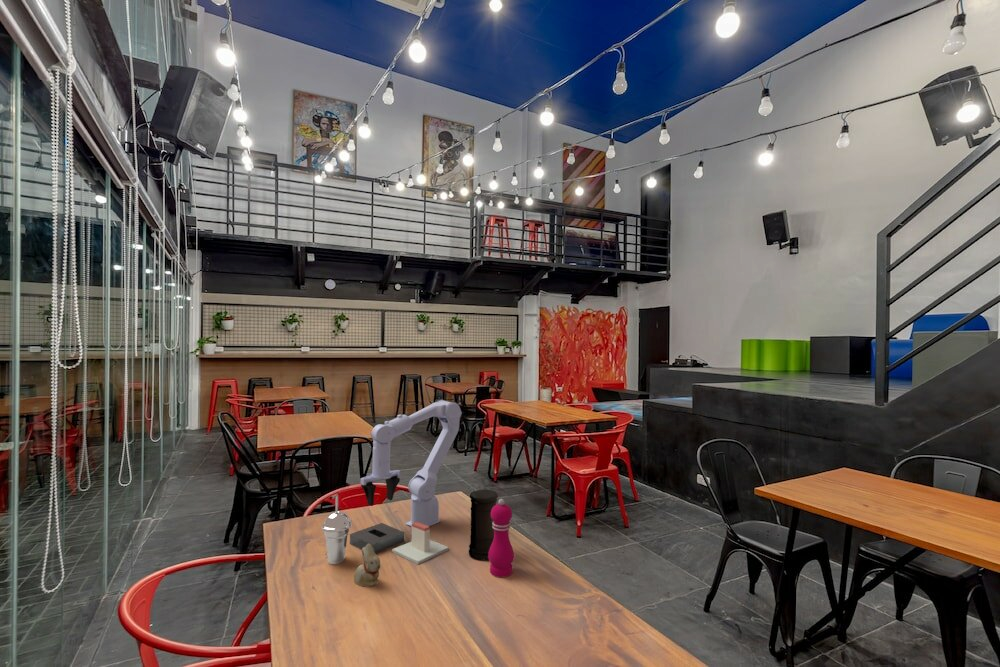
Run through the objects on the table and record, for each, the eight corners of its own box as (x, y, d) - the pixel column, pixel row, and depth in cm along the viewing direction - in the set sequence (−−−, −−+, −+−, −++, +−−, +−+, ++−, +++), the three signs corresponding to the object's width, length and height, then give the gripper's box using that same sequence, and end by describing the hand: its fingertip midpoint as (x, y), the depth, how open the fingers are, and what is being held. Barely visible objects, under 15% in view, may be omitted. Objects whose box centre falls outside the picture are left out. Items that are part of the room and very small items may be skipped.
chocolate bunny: (360, 591, 115) (361, 551, 115) (351, 578, 121) (352, 540, 121) (381, 585, 118) (382, 546, 118) (372, 572, 124) (372, 536, 124)
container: (499, 547, 140) (500, 489, 140) (496, 561, 131) (497, 499, 131) (471, 546, 141) (471, 488, 141) (466, 560, 132) (466, 497, 132)
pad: (422, 539, 146) (422, 536, 146) (448, 549, 138) (448, 547, 138) (392, 552, 137) (392, 549, 137) (417, 564, 129) (418, 561, 129)
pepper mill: (511, 579, 121) (511, 504, 121) (485, 576, 122) (485, 502, 123) (516, 566, 128) (516, 495, 128) (491, 564, 129) (491, 493, 130)
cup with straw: (357, 557, 133) (358, 488, 134) (334, 570, 125) (336, 498, 126) (336, 551, 137) (337, 485, 137) (312, 564, 129) (313, 493, 129)
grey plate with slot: (381, 531, 152) (381, 522, 152) (404, 541, 144) (404, 532, 144) (349, 543, 142) (349, 534, 142) (372, 554, 135) (372, 544, 135)
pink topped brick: (416, 544, 140) (416, 521, 140) (429, 550, 136) (429, 526, 137) (411, 546, 139) (411, 523, 139) (424, 552, 135) (424, 528, 135)
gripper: (369, 467, 143) (368, 510, 142) (406, 459, 154) (405, 499, 153) (357, 463, 147) (355, 505, 147) (393, 456, 158) (392, 495, 158)
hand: (380, 502), depth 150 cm, fingers open, 7 cm apart
